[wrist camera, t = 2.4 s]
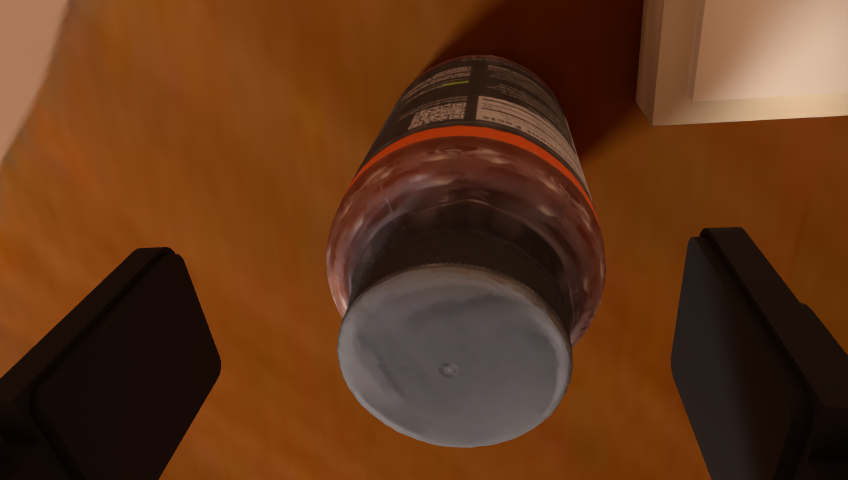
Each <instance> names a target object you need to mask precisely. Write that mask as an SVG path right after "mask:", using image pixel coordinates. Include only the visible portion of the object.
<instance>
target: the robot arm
mask: <svg viewBox="0 0 848 480" xmlns="http://www.w3.org/2000/svg"><path fill="white" fill-rule="evenodd" d="M671 369H672V374H673V378H674V381H675V383H676V386H677V389H678V391H679V394H680V397H681V399H682V402H683V405H684V407H685V410H686V413H687V415H688V418H689V421H690V423H691V426H692V429H693V431H694V434H695V437H696V439H697V442H698V445H699V447H700V450H701V453H702V455H703V458H704V461H705V463H706V466H707V469H708V471H709V474H710V477H711V479H712V480H848V355H847V354H846V353H845V352H844V350H843V349H842V348H841V346H840V345H839V344H838V343H837V341H836V340H835V339H834V338H833V336H832V335H831V334H830V332H829V331H828V330H827V329H826V327H825V326H824V325H823V323H822V322H821V321H820V320H819V318H818V317H817V316H816V314H815V313H814V312H813V311H812V310H811V309H810V308H809V307H808V306H807V305H806V304H803V303H800V302H799V301H798V300H797V298H796V297H795V296H794V294H793V293H792V292H791V290H790V289H789V288H788V286H787V285H786V284H785V283H784V281H783V280H782V279H781V277H780V276H779V275H778V273H777V272H776V271H775V270H774V268H773V267H772V266H771V264H770V263H769V262H768V260H767V259H766V258H765V256H764V255H763V254H762V253H761V251H760V250H759V249H758V247H757V246H756V245H755V243H754V242H753V241H752V239H751V238H750V237H749V236H748V234H747V233H746V232H745V230H744V229H742V228H741V227H726V228H704V229H703V230H702V231H701V233H700V236H699V237H691V238H690V240H689V242H688V247H687V254H686V261H685V267H684V274H683V281H682V287H681V294H680V301H679V307H678V314H677V321H676V327H675V334H674V341H673V347H672V354H671ZM220 371H221V360H220V356H219V354H218V351H217V348H216V346H215V343H214V340H213V338H212V335H211V332H210V330H209V327H208V324H207V321H206V319H205V316H204V313H203V311H202V308H201V305H200V303H199V300H198V297H197V295H196V292H195V289H194V287H193V284H192V281H191V278H190V276H189V273H188V270H187V268H186V265H185V262H184V260H183V258H182V257H181V256H180V255H178V254H175V252H174V251H173V250H172V249H170V248H168V247H158V248H138V249H136V250H135V251H133V252H132V253H131V254H130V255H129V256H128V257H127V258H126V259H125V260H124V261H123V262H122V263H121V264H120V265H119V266H118V267H117V268H116V269H115V270H114V271H113V272H111V273H110V274H109V275H108V276H107V277H106V278H105V279H104V280H103V281H102V282H101V283H100V284H99V285H98V286H97V287H96V288H95V289H94V290H93V291H92V292H91V293H89V294H88V295H87V296H86V297H85V298H84V299H83V300H82V301H81V302H80V303H79V304H78V305H77V306H76V307H75V308H74V309H73V310H72V311H71V312H70V313H69V314H68V315H66V316H65V317H64V318H63V319H62V320H61V321H60V322H59V323H58V324H57V325H56V326H55V327H54V328H53V329H52V330H51V331H50V332H49V333H48V334H47V335H46V336H45V337H43V338H42V339H41V340H40V341H39V342H38V343H37V344H36V345H35V346H34V347H33V348H32V349H31V350H30V351H29V352H28V353H27V354H26V355H25V356H24V357H23V358H21V359H20V360H19V361H18V362H17V363H16V364H15V365H14V366H13V367H12V368H11V369H10V370H9V371H8V372H7V373H6V374H5V375H4V376H3V377H2V378H1V379H0V480H158V479H159V478H160V476H161V474H162V473H163V471H164V469H165V467H166V466H167V464H168V462H169V461H170V459H171V457H172V456H173V454H174V452H175V450H176V449H177V447H178V445H179V444H180V442H181V440H182V438H183V437H184V435H185V433H186V432H187V430H188V428H189V427H190V425H191V423H192V421H193V420H194V418H195V416H196V415H197V413H198V411H199V410H200V408H201V406H202V404H203V403H204V401H205V399H206V398H207V396H208V394H209V393H210V391H211V389H212V387H213V386H214V384H215V382H216V381H217V379H218V377H219V375H220Z"/></svg>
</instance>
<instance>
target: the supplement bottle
mask: <svg viewBox="0 0 848 480" xmlns="http://www.w3.org/2000/svg"><path fill="white" fill-rule="evenodd" d="M326 255H327V276H328V281H329V285H330V289H331V293H332V296H333V299H334V301H335V303H336V306H337V308H338V310H339V312H340V314H341V317H342V318H343V320H342V323H341V327H340V331H339V337H338V348H337V350H338V358H339V364H340V367H341V371H342V374H343V377H344V379H345V381H346V383H347V386H348V387H349V389H350V390H351V392H352V393H353V394H354V396H355V397H356V399H357V400H358V401H359V403H360V404H361V405H362V406H363V407H364V408H366V409H367V410H368V411H369V412H370V413H371V414H372V415H374V416H375V417H376V418H378V419H379V420H381V421H382V422H383V423H384V424H386V425H388V426H390V427H392V428H393V429H394V430H396V431H397V432H400V433H402V434H405V435H407V436H410V437H412V438H415V439H417V440H420V441H425V442H428V443H430V444H435V445H440V446H449V447H477V446H487V445H493V444H497V443H501V442H504V441H508V440H511V439H514V438H516V437H518V436H521V435H522V434H524V433H526V432H528V431H530V430H531V429H533V428H535V427H536V426H537V425H539V424H540V423H542V422H543V421H544V420H545V419H546V418H548V417H549V416H550V415H551V414H552V413H553V411H554V410H555V409H556V408H557V407H558V405H559V403H560V401H561V400H562V398H563V396H564V394H565V393H566V390H567V387H568V385H569V383H570V378H571V373H572V368H573V365H572V347H573V346H574V345H576V344H577V343H578V341H579V340H580V339H581V337H582V336H583V335H584V333H585V332H586V331H587V330H588V328H589V326H590V324H591V322H592V320H593V319H594V316H595V314H596V312H597V309H598V307H599V305H600V301H601V296H602V293H603V288H604V284H605V275H606V264H605V252H604V244H603V238H602V234H601V230H600V226H599V222H598V219H597V216H596V213H595V209H594V205H593V202H592V199H591V196H590V193H589V190H588V187H587V184H586V180H585V177H584V174H583V171H582V168H581V165H580V162H579V159H578V155H577V152H576V149H575V146H574V143H573V139H572V136H571V133H570V130H569V127H568V123H567V120H566V119H565V115H564V112H563V110H562V108H561V106H560V104H559V102H558V100H557V98H556V97H555V95H554V93H553V92H552V91H551V89H550V88H549V87H548V86H547V85H546V84H545V83H544V82H543V80H542V79H541V78H540V77H538V76H537V75H536V74H535V73H533V72H532V71H531V70H529V69H528V68H526V67H524V66H522V65H520V64H518V63H516V62H514V61H511V60H508V59H506V58H503V57H498V56H494V55H467V56H460V57H456V58H452V59H449V60H446V61H443V62H441V63H439V64H437V65H436V66H434V67H432V68H430V69H428V70H427V71H426V72H424V73H423V74H421V75H420V76H419V77H418V78H416V79H415V80H414V81H413V83H412V84H411V85H410V86H409V87H408V88H407V89H406V90H405V91H404V93H403V94H402V96H401V97H400V99H399V100H398V102H397V103H396V105H395V107H394V109H393V110H392V112H391V114H390V115H389V117H388V119H387V120H386V122H385V124H384V126H383V128H382V129H381V131H380V133H379V135H378V137H377V138H376V140H375V142H374V143H373V145H372V147H371V148H370V150H369V152H368V154H367V155H366V157H365V159H364V161H363V163H362V164H361V166H360V168H359V169H358V171H357V173H356V175H355V177H354V178H353V180H352V182H351V184H350V186H349V188H348V190H347V191H346V193H345V195H344V197H343V199H342V201H341V204H340V206H339V208H338V210H337V213H336V215H335V218H334V220H333V223H332V226H331V230H330V234H329V238H328V245H327V251H326Z"/></svg>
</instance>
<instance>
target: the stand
mask: <svg viewBox="0 0 848 480" xmlns="http://www.w3.org/2000/svg"><path fill="white" fill-rule="evenodd" d="M636 103H637V104H638V106H639V107H640V109H641V110H642V112H643V113H644V114H645V116H646V117H647V119H648V120H649V122H650V123H651V125H652V126H659V125H677V124H695V123H714V122H732V121H751V120H769V119H787V118H806V117H824V116H843V115H848V0H644V4H643V16H642V29H641V41H640V54H639V66H638V78H637V91H636Z"/></svg>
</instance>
